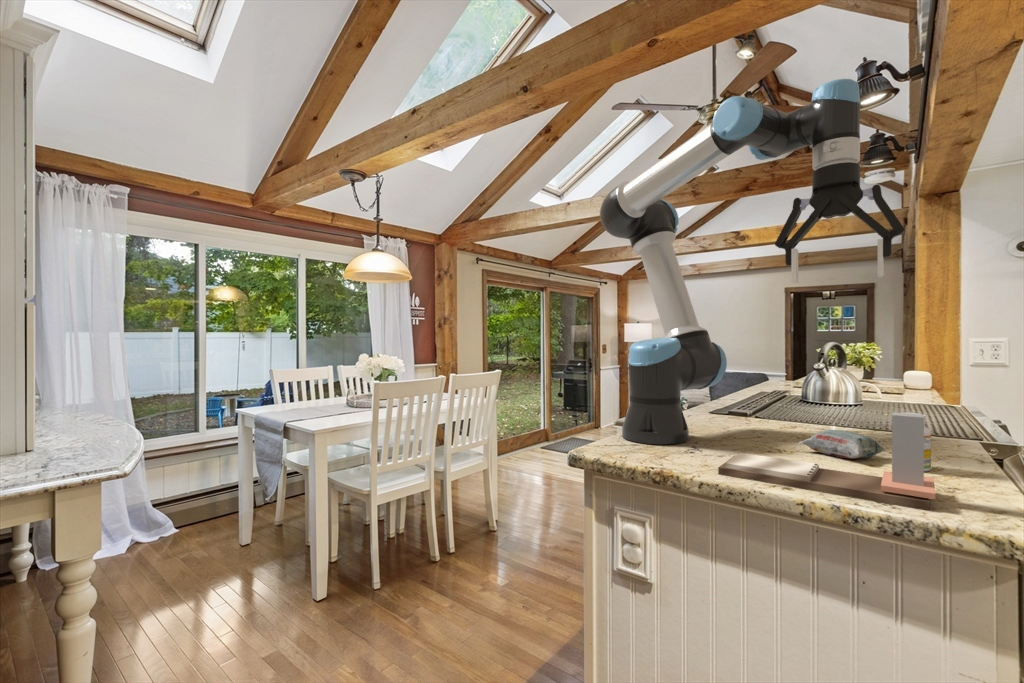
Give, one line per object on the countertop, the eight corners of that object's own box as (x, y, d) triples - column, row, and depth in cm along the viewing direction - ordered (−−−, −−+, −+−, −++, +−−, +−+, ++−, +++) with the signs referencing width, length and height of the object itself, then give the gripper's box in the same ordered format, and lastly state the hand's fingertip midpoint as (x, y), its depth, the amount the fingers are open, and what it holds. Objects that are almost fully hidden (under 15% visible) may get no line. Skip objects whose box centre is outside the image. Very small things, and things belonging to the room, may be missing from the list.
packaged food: (858, 466, 89) (858, 439, 88) (797, 452, 99) (797, 428, 99) (887, 461, 92) (887, 435, 92) (825, 448, 103) (825, 425, 103)
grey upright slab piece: (880, 490, 70) (880, 417, 70) (883, 476, 77) (884, 409, 77) (935, 499, 66) (935, 421, 66) (933, 483, 73) (933, 412, 73)
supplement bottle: (890, 462, 90) (890, 411, 90) (927, 466, 87) (927, 413, 87) (894, 469, 86) (894, 415, 86) (934, 473, 83) (934, 417, 83)
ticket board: (718, 474, 84) (718, 462, 84) (734, 461, 92) (734, 450, 92) (929, 510, 66) (929, 495, 66) (927, 491, 74) (927, 477, 74)
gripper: (758, 177, 96) (759, 282, 97) (922, 144, 80) (921, 271, 81) (767, 185, 102) (767, 285, 102) (921, 156, 86) (921, 275, 86)
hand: (835, 279), depth 92 cm, fingers open, 13 cm apart
